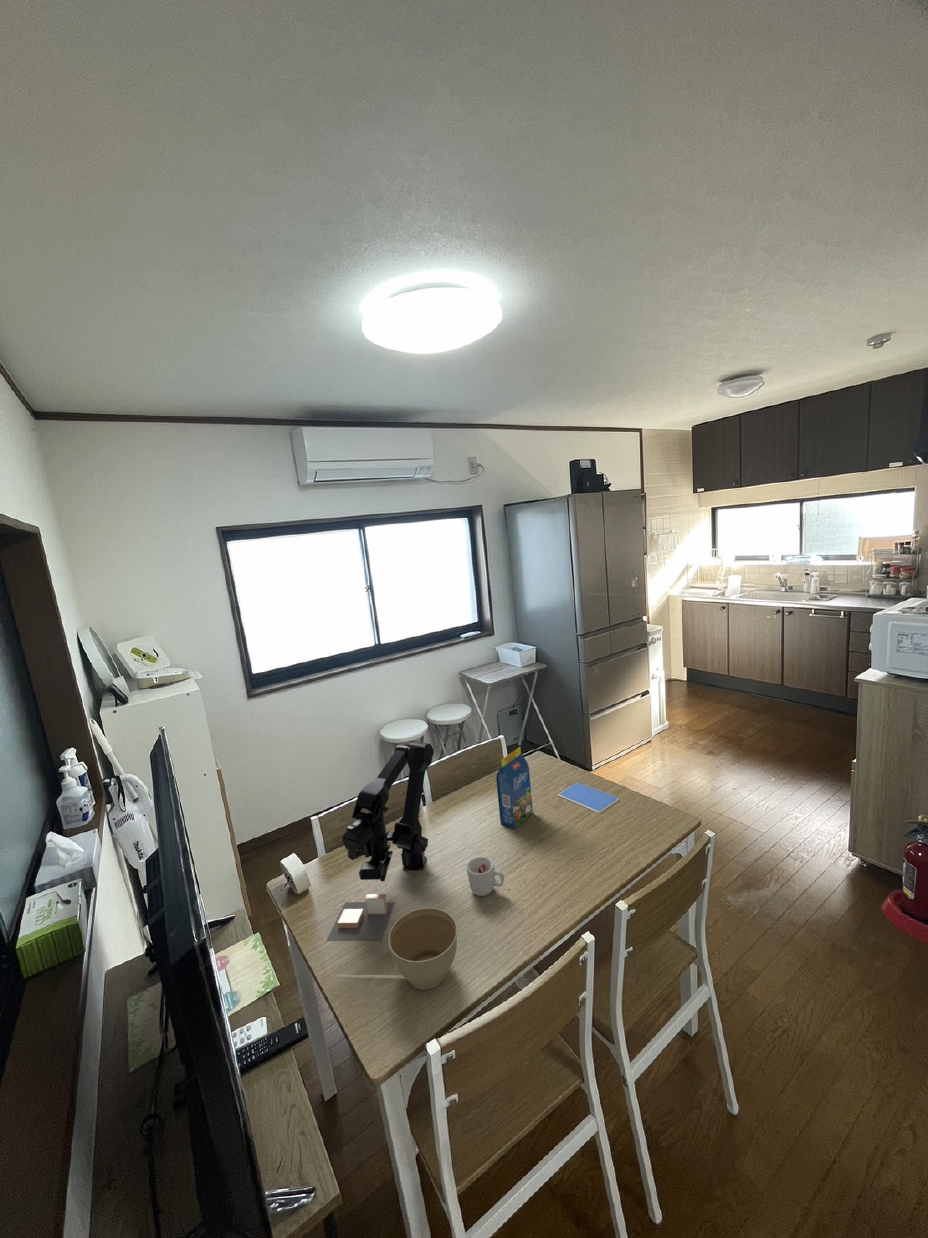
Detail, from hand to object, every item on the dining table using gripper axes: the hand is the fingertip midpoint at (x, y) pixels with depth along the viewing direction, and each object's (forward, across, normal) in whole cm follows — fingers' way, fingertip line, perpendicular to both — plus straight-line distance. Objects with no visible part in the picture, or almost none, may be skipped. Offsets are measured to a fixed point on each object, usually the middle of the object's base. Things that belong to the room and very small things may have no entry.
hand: (383, 880), depth 146 cm
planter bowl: (+5, +26, +18) cm, 32 cm away
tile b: (+4, +8, -7) cm, 11 cm away
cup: (+5, -2, +30) cm, 30 cm away
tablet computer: (+6, -52, +64) cm, 83 cm away
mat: (+5, +10, -4) cm, 12 cm away
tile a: (+4, +7, 0) cm, 8 cm away
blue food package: (+5, -39, +38) cm, 55 cm away
